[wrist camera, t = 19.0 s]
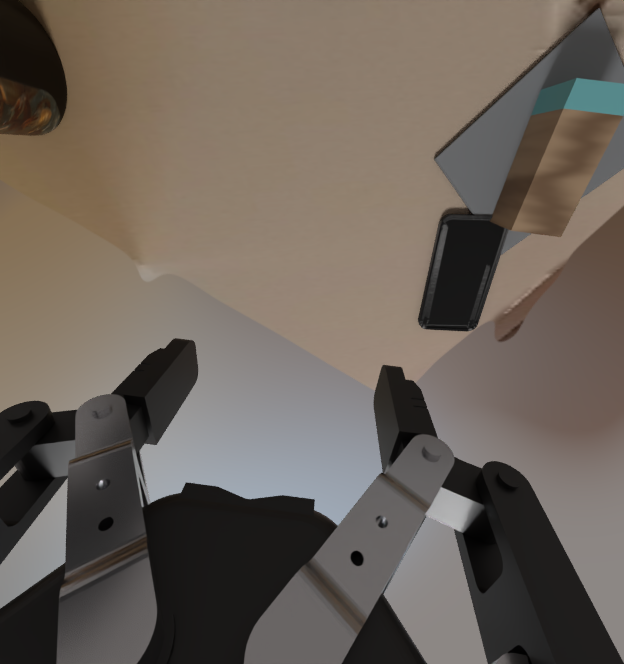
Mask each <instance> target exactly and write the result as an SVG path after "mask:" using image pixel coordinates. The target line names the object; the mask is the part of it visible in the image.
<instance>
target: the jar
mask: <svg viewBox="0 0 624 664" xmlns="http://www.w3.org/2000/svg"><path fill="white" fill-rule="evenodd" d="M66 101H67V90H66V82H65V76H64V72H63V68H62V65H61V62H60V59H59V57H58V54H57V52H56V50H55V48H54V46H53V43H52V42H51V40H50V38H49V36H48V35H47V33H46V31H45V30H44V28H43V27H42V25H41V24H40V23H39V21H38V20H37V19H36V18H35V16H34V15H33V14H32V13H31V12H30V11H29V10H28V9H27V8H26V7H25V6H24V5H23V4H22V3H21V2H20V1H18V0H0V134H12V135H33V136H36V135H43V134H47V133H49V132H51V131H52V130H54V129H55V128H56V127H57V126H58V125H59V123H60V122H61V120H62V118H63V115H64V112H65V108H66Z"/></svg>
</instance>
